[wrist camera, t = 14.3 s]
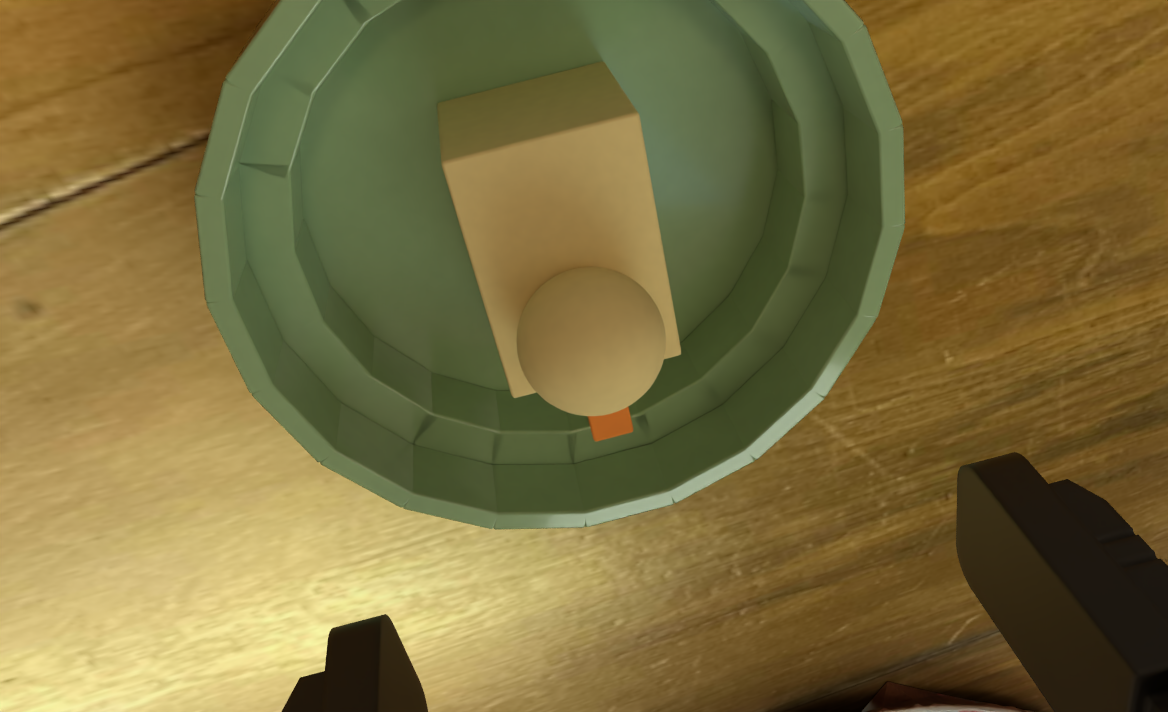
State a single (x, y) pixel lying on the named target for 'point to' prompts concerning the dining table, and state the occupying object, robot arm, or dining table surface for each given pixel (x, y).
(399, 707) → the robot arm
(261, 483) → the dining table surface
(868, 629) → the dining table surface
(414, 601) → the dining table surface
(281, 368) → the green bowl
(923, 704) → the chocolate cake
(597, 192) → the duck
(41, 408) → the dining table surface
